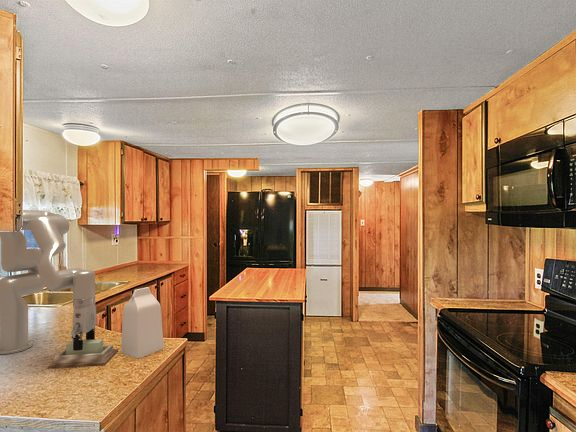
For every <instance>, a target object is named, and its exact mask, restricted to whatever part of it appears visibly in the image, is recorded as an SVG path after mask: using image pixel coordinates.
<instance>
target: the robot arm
mask: <svg viewBox="0 0 576 432" xmlns="http://www.w3.org/2000/svg"><path fill="white" fill-rule="evenodd" d="M22 210H23V226H22V229H21V230H20V232H0V267H1V269H2V270H3V271H4V272H6V273H14V272H15V273H16V272H23V271H27V272H25V273H18V274H12V275H6V276H4V277H2V278H0V355H9V354H11V355H12V354H16V353H18V352H22V351H26V350H28V349H30V348H32V347H33V346H34V341H31V340H29V305H28V303H27V301H26V300H25V299H24V298H23V296H27V295H33V294H36V293H39V292H41V291H43V290H44V289H45V288H46V289H47V290H49V291H52V292H57V291H58V292H59V291H62V290H68V289H72V308H73V313H72V315H73V316H72V330H71V331H70V334H71V339H72V340H73V350H74V351H79V350H82V349H83V340H84V339H83V337H84V336H83V335H84V334H85V340H96V336H95V335H96V331H95V330H96V327H97V324H98V319H97V306H96V273H95V271H94V270H93V269H82V268H80V267H75V268H69V269H68V268H67V269H62V270H61V269H60V270H56V269H55V267H54V265H53V262H52V260H53V259H52V258H53V257H55V256H57V255H58V254H60V253H62V252H63V251H64V250H65V249H66V246H67V244H66V242H65V241H64V239H63V236H62V235H65V234H66V233H68V232H69V230H70V223H69V221H68V219H67V218H66V217H65V216H63V215H61V214H58V213H55V212H52V211H51V212H50V211H47V210H39V209H38V210H33V209H32V210H31V209H30V210H29V209H27V210H26V209H22ZM22 231H30V232H31V235H32V236H33V238H34V240H35V242H36V244H37V246H38V248H36V247H34V248H33V247H31V248H29V247H28V245H27V243H28V241H27V238H26V236H25V234H24V233H23V232H22ZM27 247H28V248H27ZM72 340H71V341H72Z"/></svg>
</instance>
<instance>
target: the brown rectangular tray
mask: <svg viewBox="0 0 576 432" xmlns="http://www.w3.org/2000/svg"><path fill="white" fill-rule="evenodd" d="M117 353H119V349H118V348H116V349H115V348H114V345H113V344H109V345H108V344H106V345H104V344H103V352H102V353H96V354H78V355H66V348H65V349H63V350H62V351H61V352H59V353H58V354H56V355H55V356H54V358H53V360H54V361H52V362H51V363H50V364H48V365H47V369H49V368H51V369H65V368H67V369H68V368H83V367H97V366H99V367H100V366H105V365H106V364H107V363H108V362H110V361H111V360H112V358H114V356H115V355H117ZM49 370H50V369H49Z"/></svg>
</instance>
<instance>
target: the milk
mask: <svg viewBox="0 0 576 432" xmlns="http://www.w3.org/2000/svg"><path fill="white" fill-rule="evenodd" d="M162 318H163V317H162V308H161V304H160V302H159V301H158V300H157V298H156V297H155V296H154V295H153V294H152V291H151V289H150V287H147V286H146V287H141V288H138V289H137V288H136V289H134V290H133V293H132V295H131V297H130V299H129V300H128V301H127V302H126V303H125V304H124V306H123V309H122V323H121V324H122V326H121V344H120V345H121V348H120V352H121V354H124V355H125V356H128V357H131V358H135V359H137V360H139V359H141V358H143V357H144V358H145V357H146V356H149V355H152V354H154V353H156V352H159V351H161V350H164V349H165V346H164V345H165V344H164V333H163V331H164V330H163V320H162Z"/></svg>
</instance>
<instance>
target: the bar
mask: <svg viewBox="0 0 576 432" xmlns="http://www.w3.org/2000/svg"><path fill="white" fill-rule="evenodd" d="M103 345H104V339H102V338H101V339H95V340H86V339H83V349H82V350H79V351H74V350H73V340H70V341H69V342H67V343H66V344H65V349H66V355H78V354H96V353H102V352H103Z"/></svg>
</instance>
